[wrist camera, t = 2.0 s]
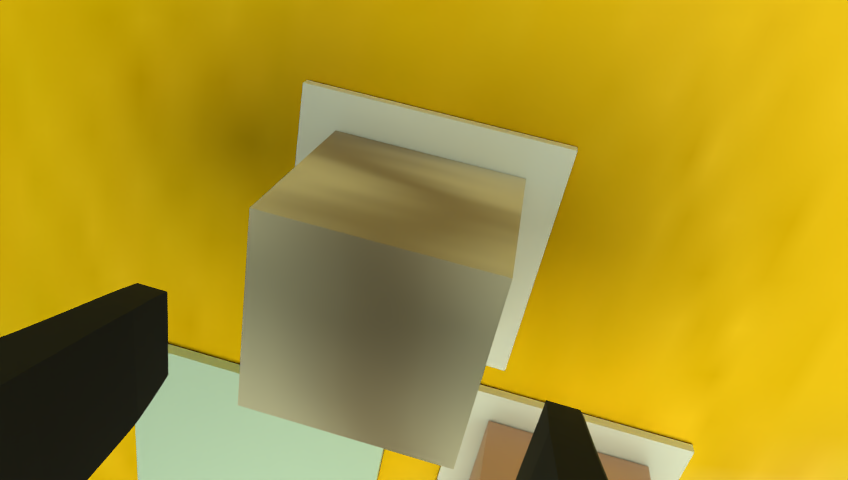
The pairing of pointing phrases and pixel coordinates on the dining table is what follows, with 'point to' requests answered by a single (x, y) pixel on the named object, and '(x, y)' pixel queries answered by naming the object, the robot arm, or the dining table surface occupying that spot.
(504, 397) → the code tile
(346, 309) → the birch block
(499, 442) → the terracotta block
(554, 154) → the code tile
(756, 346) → the dining table surface
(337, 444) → the coaster
